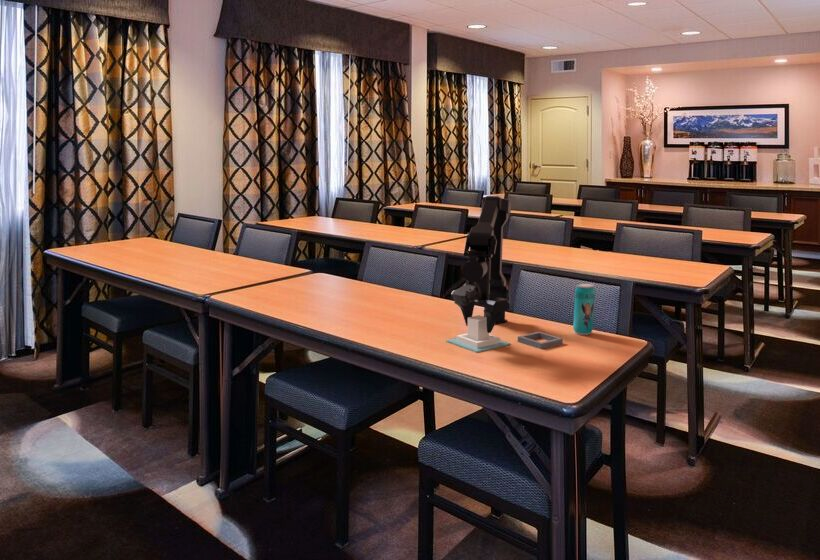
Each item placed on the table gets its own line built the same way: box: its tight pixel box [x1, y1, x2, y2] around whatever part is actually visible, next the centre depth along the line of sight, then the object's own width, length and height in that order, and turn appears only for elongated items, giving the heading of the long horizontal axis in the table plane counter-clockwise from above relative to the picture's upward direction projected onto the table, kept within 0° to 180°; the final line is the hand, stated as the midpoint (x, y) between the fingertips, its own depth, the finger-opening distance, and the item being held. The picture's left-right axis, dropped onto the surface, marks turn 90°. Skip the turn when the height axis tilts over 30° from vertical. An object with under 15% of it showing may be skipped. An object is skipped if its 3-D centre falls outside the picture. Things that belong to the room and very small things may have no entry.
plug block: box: [466, 314, 490, 342], centre depth 178 cm, size 4×5×7 cm
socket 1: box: [445, 332, 511, 354], centre depth 178 cm, size 13×13×2 cm
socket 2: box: [517, 331, 564, 350], centre depth 179 cm, size 9×9×2 cm
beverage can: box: [572, 282, 596, 336], centre depth 188 cm, size 6×6×15 cm
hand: (478, 329), depth 178 cm, fingers open, 8 cm apart
